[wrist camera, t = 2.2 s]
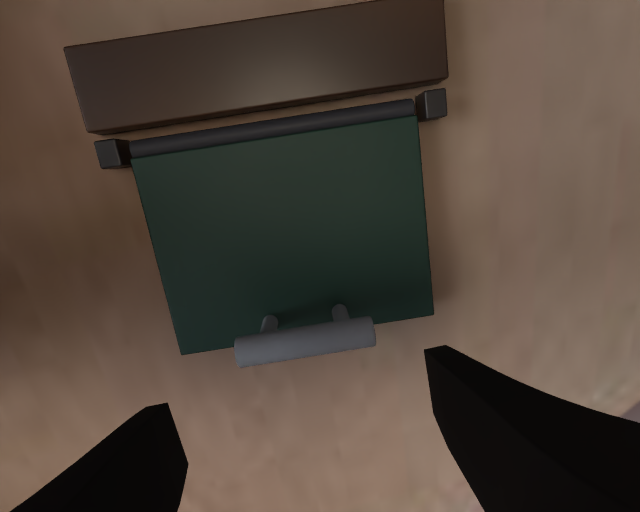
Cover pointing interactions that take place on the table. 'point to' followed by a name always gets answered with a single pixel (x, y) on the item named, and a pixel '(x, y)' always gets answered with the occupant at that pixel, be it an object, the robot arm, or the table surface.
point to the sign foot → (259, 67)
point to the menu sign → (289, 230)
